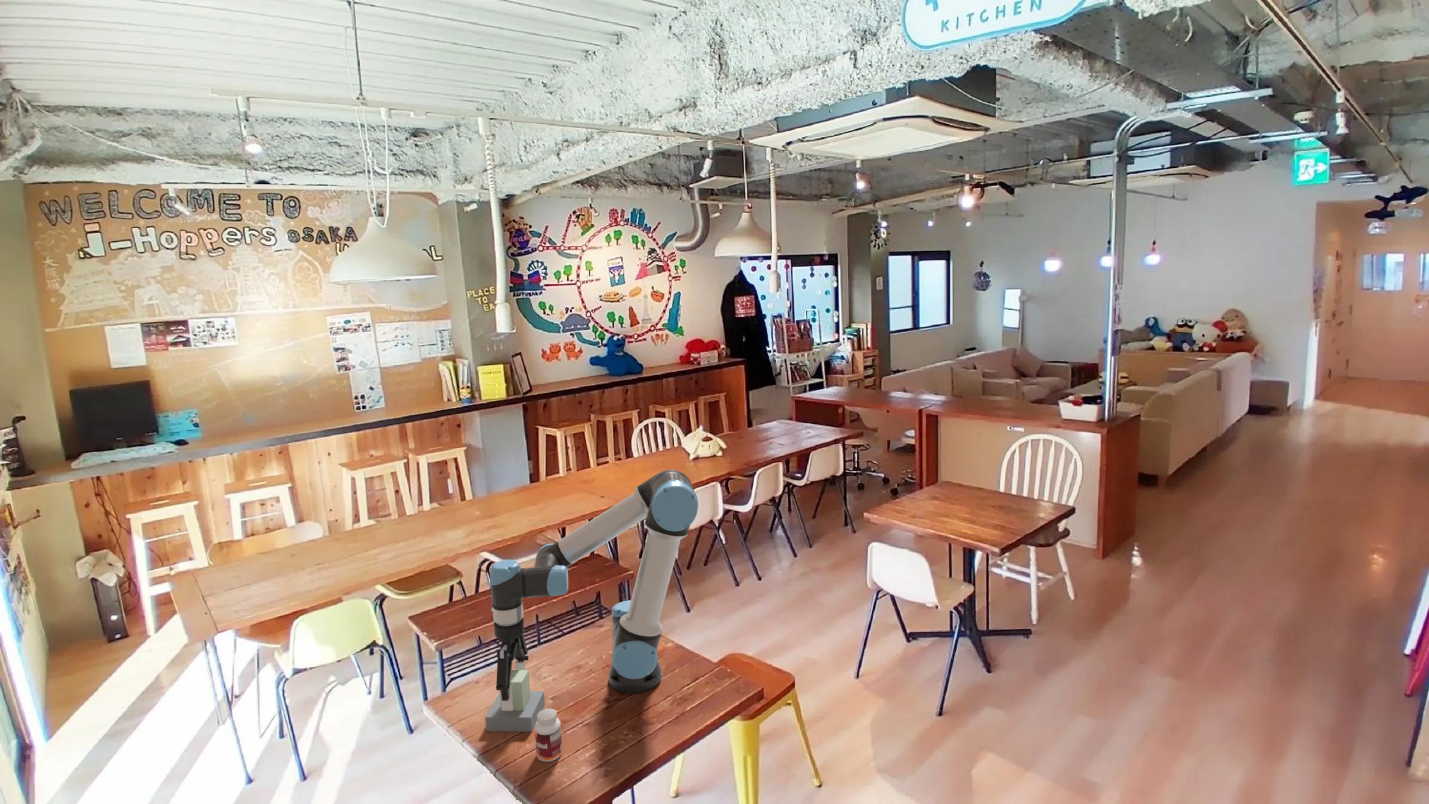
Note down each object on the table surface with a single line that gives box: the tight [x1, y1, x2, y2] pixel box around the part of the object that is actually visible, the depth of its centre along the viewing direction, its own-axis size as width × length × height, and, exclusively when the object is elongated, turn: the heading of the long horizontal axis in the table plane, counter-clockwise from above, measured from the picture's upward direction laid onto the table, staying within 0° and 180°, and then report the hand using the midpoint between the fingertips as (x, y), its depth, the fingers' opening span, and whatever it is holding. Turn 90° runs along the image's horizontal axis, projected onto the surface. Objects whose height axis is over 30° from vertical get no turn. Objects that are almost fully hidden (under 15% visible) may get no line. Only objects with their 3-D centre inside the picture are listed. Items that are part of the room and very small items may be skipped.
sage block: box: [500, 669, 531, 710], centre depth 195 cm, size 6×6×8 cm
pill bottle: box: [534, 708, 563, 763], centre depth 180 cm, size 6×6×11 cm
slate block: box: [484, 690, 546, 733], centre depth 196 cm, size 12×12×4 cm
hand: (514, 696), depth 195 cm, fingers open, 11 cm apart
